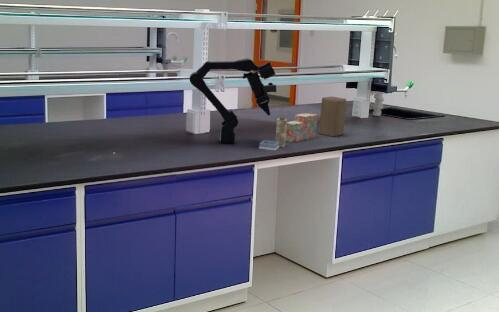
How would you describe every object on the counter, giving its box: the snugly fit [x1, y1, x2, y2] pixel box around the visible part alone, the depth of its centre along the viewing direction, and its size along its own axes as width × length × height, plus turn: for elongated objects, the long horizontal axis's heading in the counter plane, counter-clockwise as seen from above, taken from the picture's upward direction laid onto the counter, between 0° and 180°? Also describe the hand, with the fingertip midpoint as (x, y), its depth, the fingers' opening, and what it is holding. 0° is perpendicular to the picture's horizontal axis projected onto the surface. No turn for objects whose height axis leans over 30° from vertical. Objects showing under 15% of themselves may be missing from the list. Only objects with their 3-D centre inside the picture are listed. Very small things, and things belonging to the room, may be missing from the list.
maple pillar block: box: [275, 116, 288, 148], centre depth 270 cm, size 4×4×14 cm
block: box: [318, 96, 347, 138], centre depth 304 cm, size 10×10×20 cm
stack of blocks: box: [285, 112, 319, 143], centre depth 290 cm, size 21×6×12 cm, turn 140°
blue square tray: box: [258, 139, 280, 151], centre depth 266 cm, size 8×8×2 cm
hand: (268, 113), depth 270 cm, fingers open, 9 cm apart
